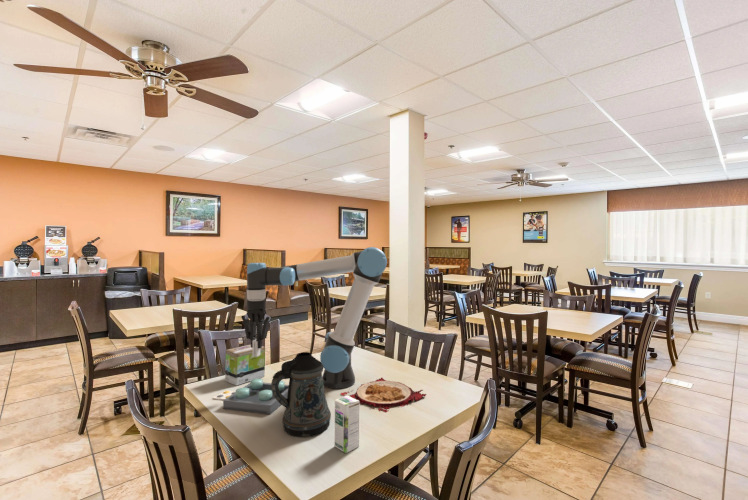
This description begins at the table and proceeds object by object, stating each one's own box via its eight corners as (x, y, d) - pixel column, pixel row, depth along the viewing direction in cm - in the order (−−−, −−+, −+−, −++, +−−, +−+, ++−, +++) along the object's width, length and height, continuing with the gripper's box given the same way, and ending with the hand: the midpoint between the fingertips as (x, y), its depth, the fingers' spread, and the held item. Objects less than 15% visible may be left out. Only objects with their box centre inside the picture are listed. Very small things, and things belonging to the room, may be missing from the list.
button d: (251, 394, 143) (251, 388, 143) (244, 399, 138) (244, 393, 138) (240, 393, 144) (240, 387, 144) (233, 398, 139) (233, 391, 139)
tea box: (237, 386, 160) (236, 353, 160) (224, 381, 166) (224, 349, 166) (265, 376, 172) (265, 346, 172) (253, 372, 178) (253, 342, 178)
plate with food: (382, 381, 167) (381, 374, 167) (426, 397, 148) (426, 389, 148) (340, 397, 151) (339, 388, 151) (383, 417, 131) (383, 407, 131)
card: (241, 393, 152) (241, 391, 152) (230, 400, 144) (230, 399, 144) (225, 391, 154) (225, 389, 154) (212, 398, 146) (212, 397, 146)
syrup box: (333, 446, 111) (333, 399, 111) (348, 439, 115) (348, 394, 115) (345, 454, 107) (345, 405, 107) (360, 446, 111) (360, 399, 111)
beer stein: (340, 421, 127) (340, 351, 127) (303, 447, 110) (302, 366, 110) (304, 410, 136) (304, 344, 135) (265, 433, 119) (265, 358, 119)
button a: (286, 387, 150) (286, 381, 150) (280, 391, 145) (280, 385, 145) (275, 386, 151) (275, 380, 151) (269, 390, 146) (269, 384, 146)
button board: (294, 393, 152) (294, 385, 152) (270, 414, 132) (270, 405, 132) (252, 389, 157) (252, 381, 157) (223, 408, 137) (223, 400, 137)
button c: (265, 385, 152) (265, 379, 152) (258, 389, 148) (258, 383, 148) (254, 384, 154) (254, 378, 154) (247, 388, 149) (247, 382, 149)
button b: (274, 396, 140) (274, 390, 140) (268, 402, 135) (268, 395, 135) (263, 395, 142) (263, 389, 141) (256, 400, 137) (256, 394, 137)
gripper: (275, 298, 152) (275, 354, 153) (247, 297, 156) (247, 352, 156) (266, 301, 145) (266, 359, 145) (236, 300, 148) (236, 357, 148)
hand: (256, 355), depth 150 cm, fingers closed
